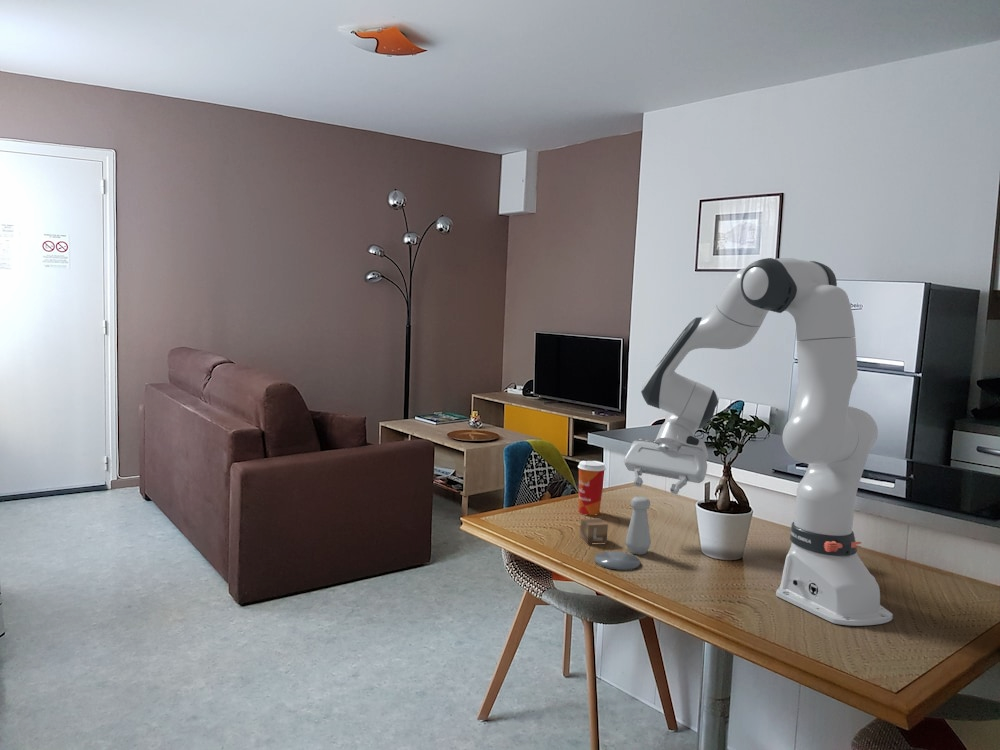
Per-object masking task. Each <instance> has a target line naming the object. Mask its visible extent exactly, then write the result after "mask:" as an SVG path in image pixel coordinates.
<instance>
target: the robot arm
mask: <svg viewBox="0 0 1000 750" xmlns="http://www.w3.org/2000/svg"><path fill="white" fill-rule="evenodd" d="M769 311H770V312H774V313H777V314H782V313H783V312H787V313H789V314H790V315H791V316H792V317H793V319H794V322H795V329H796V330H795V331H796V334H795V335H796V337H795V338H796V353H797V354H796V356H797V357H796V358H797V385H796V392H795V397H794V403H793V407H792V412H791V415H790V418H789V419H788V421H787V423H786V424H785V426H784V428H783V431H782V438H781V439H782V444H783V447H784V449H785V451H786V453H787V454H788V455H789V456H790V457H791V458H792V459H794V460H795V461H797V462H799V463H801V464H802V463H803V464H807V468H806V471H805V473H804V474H803V477H802V478H801V480H800V481H799V484H798V486H797V488H796V496H795V508H794V509H795V510H794V518H793V522H792V523H791V528H790V531H789V532H790V537H789V540H790V542H791V545H790V547H789V550H788V552H787V554H786V557H785V561H784V565H783V569H782V570H783V571H782V574H781V575H782V576H781V581H780V585H779V587H778V588H777V589H776V592H775V596H776V597H778V598H780V599H782V600H784V601H785V602H788V603H790V604H792V605H795V606H797V607H799V608H801V609H803V610H805V611H807V612H809V613H811V614H813V615H815V616H817V617H820V618H821V619H823V620H826V621H828V622H830V623H832V624H836V625H843V626H855V627H857V626H861V627H862V626H874V625H875V626H876V625H882V624H887V623H889V622H891V621H893V619H894V617H893V616H894V615H893V613H892V612H891V611H890V610H888V609H886V608H885V607H884V606H883V605H881V592H880V591H881V589H880V585H879V584H878V582H877V581H876V578H875V576H874V575H873V574H871V573H870V570H869V569H868V568H867V566H865V564H864V563H863V561H862V559H861V558H860V556H859V555H858V554H857V552H858V548H862V546H861V545H860V544H862V541H856V537H855V533H854V531H853V523H854V516H855V505H856V498H857V492H858V488H859V486H860V482H861V479H862V475H863V473H864V469H865V467H866V463H867V460H868V457H869V454H870V451H871V450H872V448H873V447H874V445H875V444H876V442H877V439H878V436H879V435H878V434H879V430H878V425H877V423H876V421H875V419H874V417H872V416H871V414H869V413H868V412H866V411H864V410H862V409H861V408H857V407H853V406H849V404H850V399H851V395H852V390H853V387H854V385H855V383H856V382H857V378H858V372H859V371H858V357H857V341H856V328H855V321H854V320H855V319H854V315H853V310H852V306H851V302H850V299H849V296H848V294H847V292H846V291H845V290H844V289H843V288H842V287H839V286H838V282H837V278H836V274H835V273H834V271H833V269H831V267H829V266H827V265H826V264H823V263H821V262H819V261H816V260H815V261H814V260H803V259H797V258H793V257H783V258H772V257H767V258H761V259H758V260H755V261H753V262H751V263H750V264H749V265H748V266H747V267H743V268H740V269H739V270H738V271H737V272H736V273H735V274H734V275H733V277H732V278H731V279H730V281H729V282H728V284H727V285H726V286H725V288H724V289H723V291H722V293H721V295H720V296H719V298H718V300H717V302H716V304H715V306H714V308H712V309H711V311H710V312H708V313H707V314H705V315H704V316H702V317H701V316H700V317H695V318H694V319H692V320H691V321H690V322H689V323H688V324H687V325H686V327H685V328H684V329H683V330H682V331H681V333H680V334H679V336H678V337H677V338H676V340H675V341H674V342H673V344H672V345H671V346H670V347H669V349H668V350H667V352H666V353H665V355H664V356H663V357H662V359H661V360H660V361H659V363H658V364H657V365H656V366H655V367H654V368H653V369H652V370H651V371H650V372H649V373H648V374H647V376H646V378H644V379H645V380H644V381H643V383H642V386H641V391H640V392H641V395H642V397H643V400H644V402H645V403H646V404H647V406H650V407H654V408H656V409H659V410H660V409H661V410H662V411H665V412H666V413H665V418H664V419H665V421H664V422H663V423H662V424H661V426H660V428H659V431H658V433H657V435H656V437H655V440H653V439H646V438H642V437H641V438H639V439H636V440H633V441H632V443H631V446H630V449H628V452H627V453H626V455H625V457H624V459H623V462H624V465H625V467H626V469H627V470H628V471H629V472H634V476H635V479H634V481H633V485H634V486H635V487H638V488H641V487H642V485H643V483H644V480H643V479H642V477H641V476H642V475H643V474H645V475H651V476H656V477H661V478H669V479H673V480H678V481H677V482H676V483H671V487H670V490H669V491H670V493H671V494H674V495H678V494H679V492H680V489H683V487H685V486H686V485H687V484H688V482H689V483H690V482H691V483H694V484H701V483H703V482H704V480H705V478H706V475H707V471H708V470H707V469H708V462H707V460H708V459H709V452H708V448H707V446H706V443H705V441H704V440H703V439H700V438H699V437H696V436H695V435H696V432H697V431H698V430H699V429H702V428H704V426H705V427H706V425H707V422H708V421H712V420H710V419H711V418H712V419H713V416H714V413H715V410H716V409H717V408H716V407H718V404H719V399H718V396H717V393H716V391H715V389H713V388H711V387H710V386H706V385H704V384H702V383H700V382H698V381H695V380H693V379H690V378H688V377H685V376H683V375H680V374H679V373H677V372H676V370H677V368H678V367H679V366H680V364H681V363H682V361H683V360H684V359H685V358H686V357H687V355H688V354H689V353H690V352H691V351H693V350H697V349H717V350H718V349H719V350H734V349H738V348H741V347H743V346H746V345H747V344H749V343H751V342H752V340H753V339H754V337H755V336H756V334H757V333H758V331H759V330H760V328H761V326H762V325H763V323H764V320H765V319H766V317H767V315H768V313H769ZM707 426H708V425H707Z"/></svg>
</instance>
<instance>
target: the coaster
mask: <svg viewBox="0 0 1000 750" xmlns="http://www.w3.org/2000/svg"><path fill="white" fill-rule="evenodd" d="M595 562H596V563H598V564H599V565H601V566H603V567H602V568H604V567H606V568H605V569H607V568H610V569H609V570H612V569H617V570H616V571H623V570H624V571H631V569H633V570H636V569H638V568H639V567H640V566H641V565H640V563H641V561H640V559H639V558H638V557H637V556H635V555H634V554H631V553H627V552H623V551H602V552H599V553H596V554H595V555H594V563H595ZM596 563H595V564H596ZM598 564H597V565H598ZM599 565H598V566H599ZM601 566H600V567H601ZM637 567H638V568H637ZM635 568H636V569H635Z"/></svg>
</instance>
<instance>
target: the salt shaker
mask: <svg viewBox="0 0 1000 750" xmlns="http://www.w3.org/2000/svg"><path fill="white" fill-rule="evenodd" d="M630 505H631V507H632V514H631V518H630V521H629V526H628V528H627V529H628V530H627V533H626V537H625V545H626V548H627V551H628V552H629V553H630V552H631V553H630V554H632V553H633V554H632V555H637V554H638V555H639V556H641V555H646V554H647V552H648V551H649V548H650V546H651V543H652V541H651V535H650V528H649V527H650V526H649V520H648V512H647V510H649V509H650V505H651V501H650V499H649V498H647V497H644V496H634V497H633V498H632V499H631V502H630Z"/></svg>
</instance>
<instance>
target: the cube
mask: <svg viewBox="0 0 1000 750" xmlns="http://www.w3.org/2000/svg"><path fill="white" fill-rule="evenodd" d="M579 525H580V526H579V539H580V538H581V539H582V540H584V541H585V542H586V543H587V544H592V543H607V544H608V531H609V530H608V528H609V524H608V523H607V522H606V521H605V520H604V519H602V518H599V517H596V518H595V517H594V518H592V517H591V518H580V524H579ZM581 539H580V540H581ZM582 540H581V541H582ZM585 542H584V543H585ZM586 543H585V544H586ZM587 544H586V545H587Z"/></svg>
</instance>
